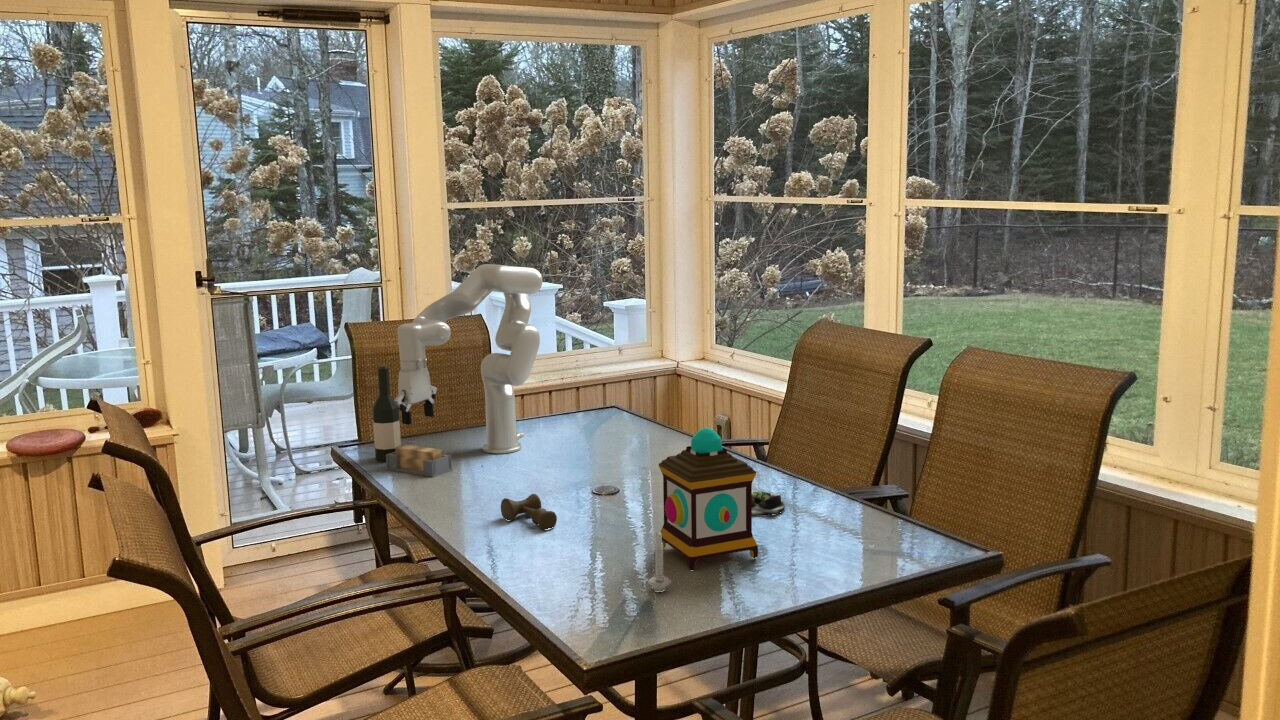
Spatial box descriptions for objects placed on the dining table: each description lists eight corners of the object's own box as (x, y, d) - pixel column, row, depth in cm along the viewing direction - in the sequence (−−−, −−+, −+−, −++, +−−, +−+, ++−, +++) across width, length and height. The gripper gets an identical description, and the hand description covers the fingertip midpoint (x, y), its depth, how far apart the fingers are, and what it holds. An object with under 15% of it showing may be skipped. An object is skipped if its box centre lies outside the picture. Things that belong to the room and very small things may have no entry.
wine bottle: (398, 462, 324) (392, 368, 319) (371, 462, 324) (365, 368, 319) (404, 455, 332) (399, 363, 327) (379, 455, 333) (373, 363, 327)
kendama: (532, 536, 255) (492, 514, 271) (565, 529, 261) (524, 508, 276) (532, 513, 254) (492, 492, 270) (565, 506, 260) (524, 486, 275)
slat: (396, 466, 317) (395, 447, 316) (405, 463, 321) (404, 444, 320) (433, 472, 310) (432, 452, 309) (442, 469, 313) (441, 449, 312)
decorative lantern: (687, 575, 226) (685, 442, 221) (650, 547, 244) (648, 423, 239) (766, 561, 234) (767, 431, 229) (725, 534, 252) (724, 414, 247)
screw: (666, 596, 215) (645, 593, 217) (674, 587, 220) (653, 585, 221) (665, 536, 213) (643, 534, 215) (673, 529, 217) (651, 526, 219)
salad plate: (712, 520, 264) (712, 502, 263) (708, 499, 282) (708, 482, 281) (788, 519, 264) (788, 501, 263) (779, 498, 281) (779, 481, 281)
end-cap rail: (386, 469, 316) (385, 454, 316) (405, 462, 324) (404, 448, 323) (433, 477, 307) (432, 462, 306) (452, 470, 314) (451, 455, 313)
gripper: (423, 358, 319) (428, 412, 322) (383, 369, 304) (388, 425, 308) (442, 360, 315) (446, 414, 318) (402, 371, 301) (407, 428, 304)
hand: (418, 420), depth 313 cm, fingers open, 9 cm apart
